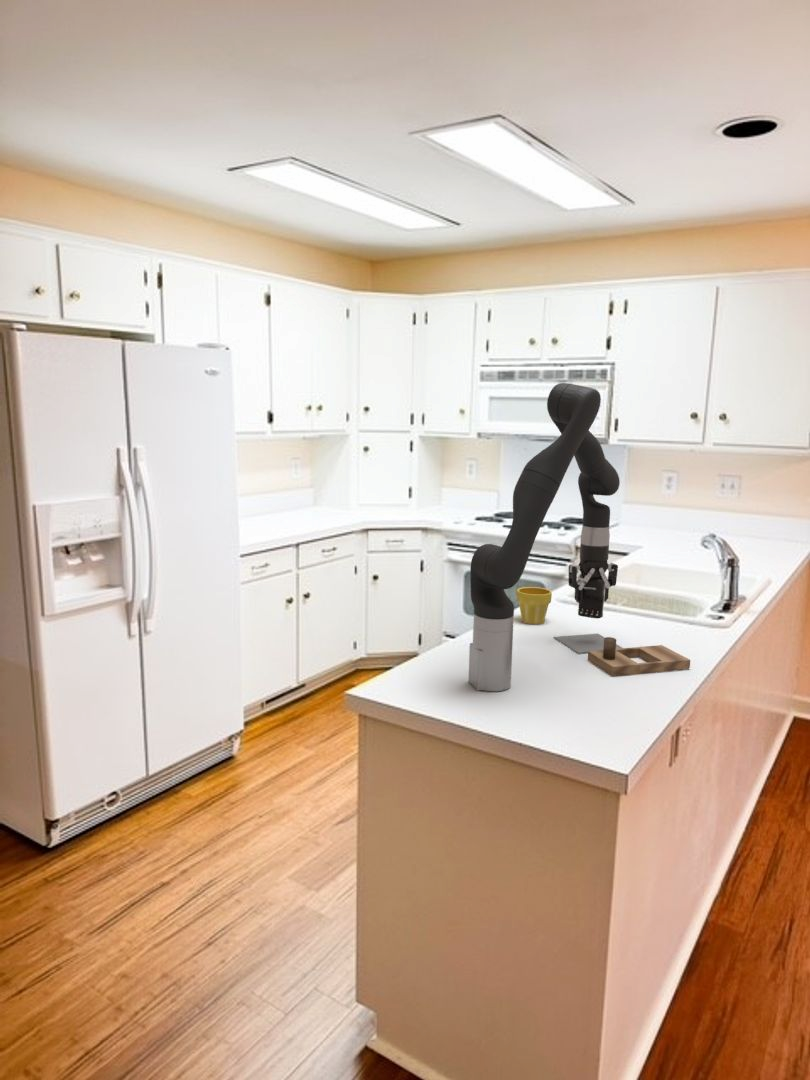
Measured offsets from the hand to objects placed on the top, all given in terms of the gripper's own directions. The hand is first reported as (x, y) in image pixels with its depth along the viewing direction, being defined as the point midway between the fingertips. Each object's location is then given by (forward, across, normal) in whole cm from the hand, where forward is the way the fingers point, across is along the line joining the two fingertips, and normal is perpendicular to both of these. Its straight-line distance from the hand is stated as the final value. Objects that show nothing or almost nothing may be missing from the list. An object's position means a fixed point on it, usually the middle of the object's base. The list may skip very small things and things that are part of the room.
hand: (591, 601), depth 202 cm
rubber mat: (+12, 0, 0) cm, 12 cm away
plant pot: (+12, -6, +24) cm, 27 cm away
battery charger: (+5, 0, 0) cm, 5 cm away
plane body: (+12, +4, -18) cm, 22 cm away
